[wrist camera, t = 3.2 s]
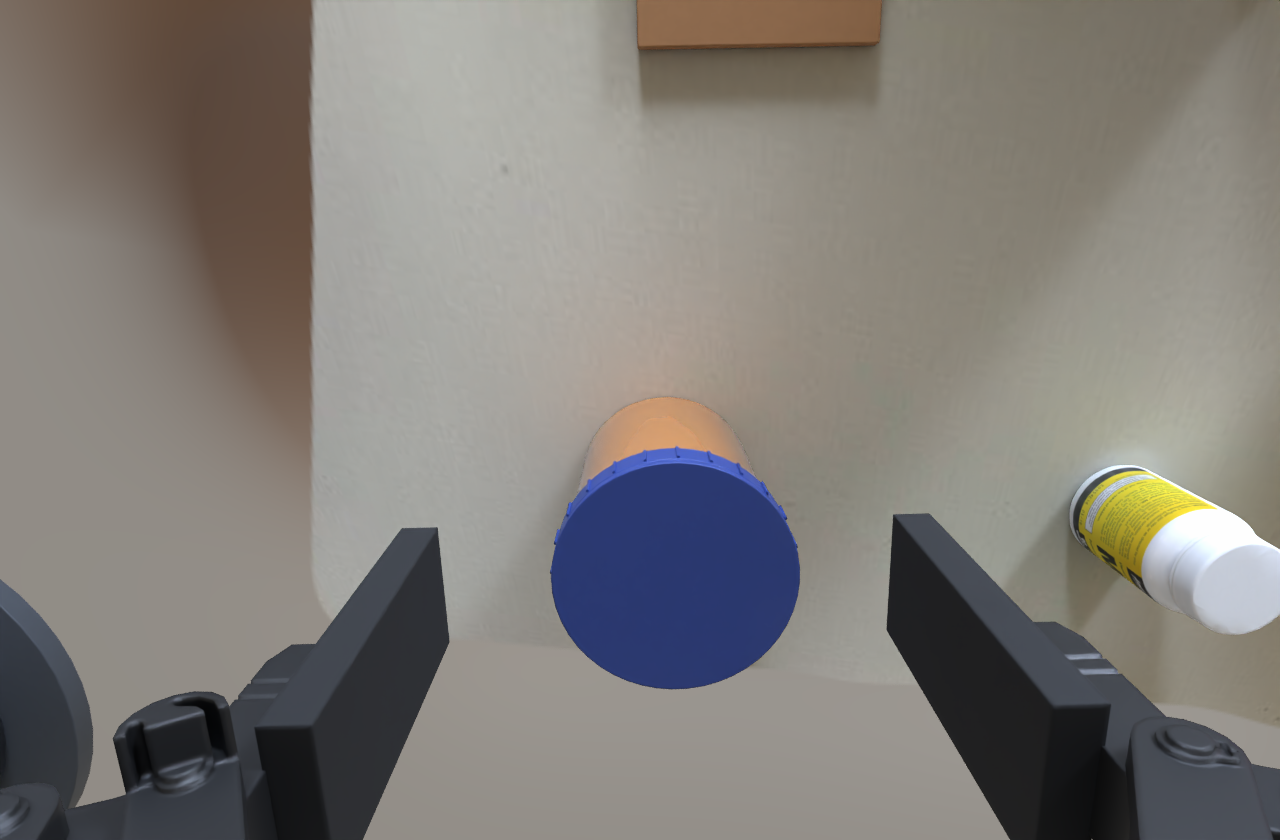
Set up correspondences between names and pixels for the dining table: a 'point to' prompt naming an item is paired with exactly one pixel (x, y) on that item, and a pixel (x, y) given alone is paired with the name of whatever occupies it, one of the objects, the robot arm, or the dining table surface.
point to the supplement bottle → (1179, 548)
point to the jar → (661, 434)
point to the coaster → (756, 23)
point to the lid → (674, 569)
